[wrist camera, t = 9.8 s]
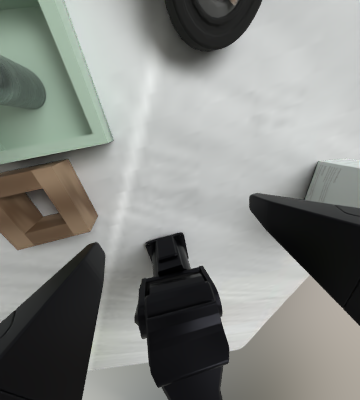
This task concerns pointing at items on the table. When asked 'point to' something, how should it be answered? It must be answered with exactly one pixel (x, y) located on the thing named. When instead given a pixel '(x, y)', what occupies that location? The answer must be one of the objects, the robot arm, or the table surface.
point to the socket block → (31, 217)
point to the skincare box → (336, 183)
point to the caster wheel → (211, 21)
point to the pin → (20, 86)
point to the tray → (48, 83)
